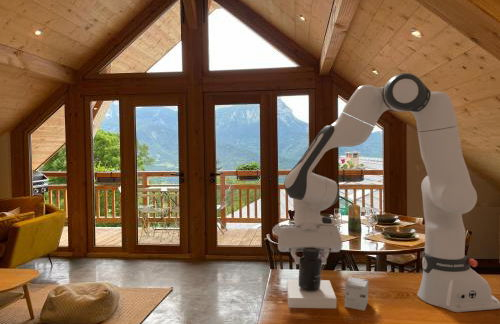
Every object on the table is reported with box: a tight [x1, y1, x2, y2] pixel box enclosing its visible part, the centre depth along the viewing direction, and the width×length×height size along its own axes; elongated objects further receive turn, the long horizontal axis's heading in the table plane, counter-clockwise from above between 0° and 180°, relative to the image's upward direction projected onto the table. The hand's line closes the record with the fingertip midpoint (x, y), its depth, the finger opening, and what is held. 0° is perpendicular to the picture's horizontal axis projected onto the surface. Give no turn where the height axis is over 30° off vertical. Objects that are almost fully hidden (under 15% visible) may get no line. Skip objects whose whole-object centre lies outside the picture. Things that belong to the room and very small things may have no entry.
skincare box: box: [344, 276, 370, 311], centre depth 119 cm, size 6×6×7 cm
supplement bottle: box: [298, 248, 322, 291], centre depth 123 cm, size 7×7×12 cm
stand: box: [286, 279, 338, 309], centre depth 124 cm, size 14×14×3 cm
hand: (310, 263), depth 123 cm, fingers closed on supplement bottle, 7 cm apart
